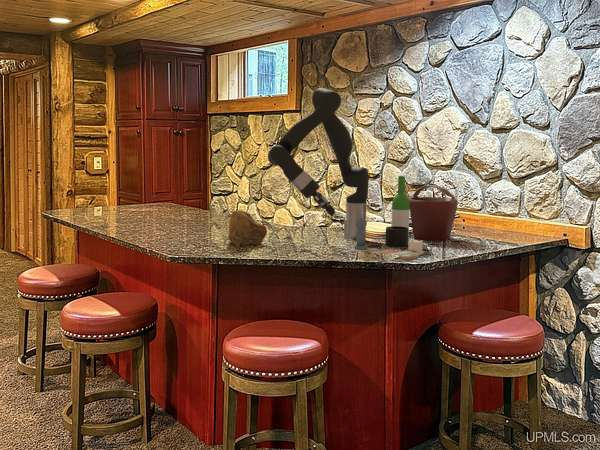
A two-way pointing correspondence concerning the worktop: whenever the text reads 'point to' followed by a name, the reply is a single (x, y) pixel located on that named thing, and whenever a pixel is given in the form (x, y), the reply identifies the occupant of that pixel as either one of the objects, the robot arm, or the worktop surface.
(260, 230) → the rough brown rock
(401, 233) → the mug
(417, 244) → the die
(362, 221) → the pawn
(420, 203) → the bucket
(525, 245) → the worktop surface
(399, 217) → the wine bottle
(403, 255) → the board
